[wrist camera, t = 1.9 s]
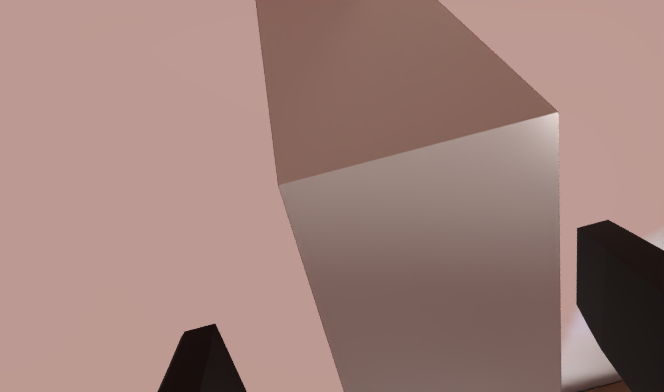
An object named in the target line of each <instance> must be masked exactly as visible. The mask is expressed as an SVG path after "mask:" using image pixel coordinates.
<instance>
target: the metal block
mask: <svg viewBox="0 0 664 392" xmlns="http://www.w3.org/2000/svg"><path fill="white" fill-rule="evenodd" d="M256 8H257V16H258V24H259V32H260V41H261V49H262V57H263V65H264V74H265V81H266V90H267V98H268V107H269V115H270V123H271V131H272V139H273V148H274V156H275V164H276V172H277V181H278V186H279V190H280V193H281V196H282V199H283V202H284V205H285V208H286V212H287V215H288V218H289V221H290V224H291V227H292V230H293V234H294V237H295V240H296V243H297V246H298V249H299V252H300V256H301V259H302V262H303V265H304V268H305V271H306V274H307V277H308V280H309V284H310V287H311V290H312V293H313V296H314V299H315V302H316V305H317V309H318V312H319V315H320V318H321V321H322V324H323V327H324V331H325V334H326V337H327V340H328V343H329V346H330V349H331V352H332V356H333V359H334V362H335V365H336V368H337V371H338V374H339V378H340V381H341V384H342V387H343V390H344V392H561V317H560V316H561V313H560V224H559V223H560V216H559V215H560V214H559V119H558V118H559V116H558V111H557V110H556V109H555V108H554V107H553V106H552V105H550V104H549V103H548V102H547V101H546V100H545V99H544V98H543V97H542V96H541V95H540V94H538V92H536V91H535V90H534V89H533V88H532V87H531V86H530V85H529V84H528V83H527V82H525V81H524V80H523V79H522V78H521V77H520V76H519V75H518V74H517V73H516V72H515V71H514V70H513V69H511V68H510V67H509V66H508V65H507V64H506V63H505V62H504V61H503V60H502V59H501V58H500V57H499V56H497V55H496V54H495V53H494V52H493V51H492V50H491V49H490V48H489V47H488V46H487V45H486V44H485V43H483V42H482V41H481V40H480V39H479V38H478V37H477V36H476V35H475V34H474V33H473V32H472V31H470V30H469V29H468V28H467V27H466V26H465V25H464V24H463V23H462V22H461V21H460V20H459V19H457V18H456V17H455V16H454V15H453V14H452V13H451V12H450V11H449V10H448V9H447V8H446V7H445V6H443V5H442V4H441V3H440V2H439V1H438V0H256Z"/></svg>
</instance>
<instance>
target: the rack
mask: <svg viewBox="0 0 664 392" xmlns="http://www.w3.org/2000/svg"><path fill="white" fill-rule="evenodd" d="M583 392H631V390H630V389H629V388H628V386H627V385H626V384H625V382H624V381H622V382H618V383H614V384H610V385H606V386H602V387H599V388H595V389H591V390H587V391H583Z"/></svg>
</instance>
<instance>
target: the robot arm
mask: <svg viewBox="0 0 664 392" xmlns="http://www.w3.org/2000/svg"><path fill="white" fill-rule="evenodd" d="M576 304H577V306H578V308H579V310H580V312H581V313H582V315H583V317H584V319H585V321H586V323H587V325H588V327H589V329H590V330H591V332H592V334H593V336H594V338H595V339H596V341H597V343H598V345H599V346H600V348H601V350H602V351H603V353H604V354H605V355H606V357H607V358H608V360H609V361H610V363H611V364H612V365H613V367H614V368H615V370H616V371H617V372H618V374H619V375H620V377H621V378H622V379H623V381H624V382H625V384H626V385H627V386H628V388H629V389H630V390H631V392H664V251H663V250H662V249H660V248H658V247H656V246H654V245H653V244H651V243H649V242H647V241H646V240H644V239H642V238H640V237H638V236H637V235H635V234H633V233H631V232H629V231H628V230H626V229H624V228H622V227H620V226H619V225H617V224H615V223H613V222H611V221H609V220H606V221H602V222H598V223H594V224H591V225H587V226H583V227H580V228H577V303H576ZM158 392H246V389H245V387H244V385H243V383H242V381H241V379H240V376H239V374H238V372H237V370H236V368H235V365H234V363H233V361H232V359H231V357H230V354H229V352H228V350H227V348H226V346H225V344H224V341H223V339H222V337H221V335H220V333H219V331H218V329H217V326H216V324H212V325H208V326H204V327H200V328H197V329H193V330H189V331H186V332H184V334H183V335H182V337H181V339H180V341H179V344H178V346H177V348H176V351H175V353H174V356H173V358H172V360H171V363H170V365H169V367H168V370H167V372H166V374H165V376H164V379H163V381H162V383H161V385H160V388H159V390H158Z"/></svg>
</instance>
